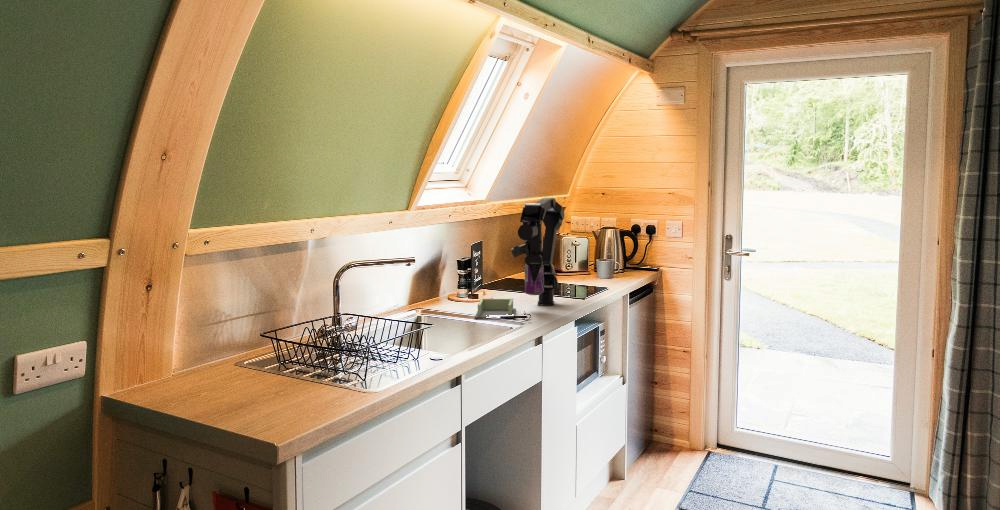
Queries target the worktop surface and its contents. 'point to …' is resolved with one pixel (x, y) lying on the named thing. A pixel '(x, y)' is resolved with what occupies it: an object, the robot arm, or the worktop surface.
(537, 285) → the beverage can
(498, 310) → the chute bracket
